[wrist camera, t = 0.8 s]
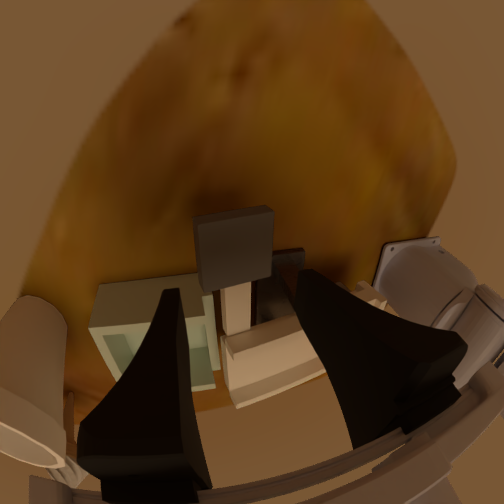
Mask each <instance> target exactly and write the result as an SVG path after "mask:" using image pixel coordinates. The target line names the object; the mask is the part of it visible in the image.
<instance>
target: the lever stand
mask: <svg viewBox="0 0 504 504" xmlns="http://www.w3.org/2000/svg"><path fill="white" fill-rule="evenodd" d="M304 259H305V250H304V249H303V248H297V249H289V250H281V251H273V252H272V264H271V276H270V277H266V278H262V279H258V280H256V291H255V325H259V324H262V323H265V322H268V321H271V320H274V319H277V318H280V317H283V316H286V315H289V314H292V313H295V310H294V300H295V293H296V285H297V278H298V271H301V270H303V267H304Z"/></svg>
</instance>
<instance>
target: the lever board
mask: <svg viewBox="0 0 504 504" xmlns="http://www.w3.org/2000/svg"><path fill="white" fill-rule="evenodd" d="M192 218H193V230H194V241H195V251H196V261H197V271H198V280H199V284H200V286H201V288H202V290H203V292H204V293H208V292H212V291H216V290H220V294H221V308H222V322H223V329H224V331H225V333H226V335H223V336H220V338H221V348H222V358H223V368H224V377H225V383H226V385H227V387H228V389H229V391H230V397H231V399H232V401H233V403H234V405H235V407H236V409H238V408H241V407H244V406H247V405H250V404H252V403H255V402H257V401H260V400H263V399H265V398H268V397H270V396H273V395H275V394H278V393H280V392H283V391H285V390H287V389H290V388H292V387H294V386H297V385H299V384H301V383H303V382H306V381H308V380H310V379H312V378H314V377H316V376H318V375H320V374H323V373H325V372H326V370H325V368H324V366H323V364H322V362H321V361H320V359H319V357H318V355H317V354H316V352H315V350H314V349H313V347H312V345H311V343H310V342H309V340H308V338H307V336H306V334H305V333H304V331H303V329H302V327H301V325H300V323H299V320H298V318H297V315H296V313H292V314H289V315H286V316H283V317H280V318H277V319H274V320H271V321H268V322H265V323H262V324H259V325H255V326H252V327H250V320H251V281H255V280H258V279H262V278H266V277H270V276H271V264H272V247H273V229H274V211H273V210H272V209H270V208H269V207H267V206H266V205H262V206H256V207H249V208H243V209H237V210H231V211H225V212H219V213H213V214H207V215H201V216H196V217H192ZM335 284H337V285H338V286H340V287H342V288H343V289H345V290H346V291H348V292H350V293H351V294H353V295H355V296H356V297H358V298H360V299H362V300H363V301H365V302H367V303H369V304H371V305H373V306H375V307H377V308H379V309H381V310H383V311H384V308H385V305H386V303H387V299H386V298H385V297H384V296H382V295H381V294H380V293H379V292H378V291H376V290H375V289H374V288H373V287H372V286H370V285H369V284H368V283H367V282H365V281H364V280H362V281H360V282H357V285H356V289H355V290H354V291H350V290H349V289H348V288H347V287H346V286H345V285H344V284H342V283H341V282H337V283H335Z"/></svg>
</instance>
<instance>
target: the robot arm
mask: <svg viewBox="0 0 504 504" xmlns="http://www.w3.org/2000/svg"><path fill="white" fill-rule="evenodd" d="M440 242H441V238H440V237H439V236H436V237H430V238H423V239H416V240H409V241H402V242H396V243H389V244H386V245H385V246H384V248H383V251H382V255H381V259H380V263H379V266H378V270H377V273H376V277H375V280H374V283H373V288H374V289H375V290H376V291H378V292H379V293H380V294H381V295H382V296H384V297H385V298H386V299H387V303H388V304H389V305H390V306H391V307H392V308H393V309H394V311H395V312H396V313H397V314H398V315H399V316H400V317H401V318H400V317H397V316H395V315H392V314H390V313H388V312H386V311H383V310H381V309H379V308H377V307H375V306H373V305H371V304H369V303H367V302H365V301H363V300H362V299H360V298H358V297H356V296H355V295H353V294H351V293H350V292H348V291H346V290H345V289H343V288H342V287H340V286H338V285H337V284H335V283H334V282H332V281H331V280H329V279H327V278H326V277H324V276H323V275H321V274H319V273H318V272H316V271H314V270H313V269H307V270H301V271H298V278H297V285H296V293H295V300H294V310H295V313H296V315H297V318H298V320H299V323H300V325H301V327H302V329H303V331H304V333H305V334H306V336H307V338H308V340H309V342H310V343H311V345H312V347H313V349H314V350H315V352H316V354H317V355H318V357H319V359H320V361H321V362H322V364H323V366H324V368H325V370H326V372H327V374H328V377H329V379H330V381H331V384H332V386H333V388H334V391H335V394H336V396H337V398H338V401H339V404H340V406H341V410H342V413H343V415H344V419H345V422H346V425H347V428H348V431H349V435H350V439H351V442H352V447H353V450H352V451H349V452H347V453H345V454H342V455H340V456H337V457H335V458H332V459H329V460H327V461H324V462H321V463H318V464H315V465H313V466H310V467H307V468H303V469H301V470H297V471H294V472H290V473H287V474H283V475H280V476H276V477H272V478H268V479H264V480H260V481H255V482H251V483H246V484H241V485H236V486H229V487H223V488H217V489H212V487H213V486H212V483H211V479H210V476H209V472H208V468H207V464H206V460H205V456H204V452H203V448H202V444H201V439H200V435H199V430H198V426H197V420H196V415H195V410H194V405H193V398H192V388H191V372H190V353H189V342H188V335H187V328H186V322H185V317H184V311H183V306H182V300H181V295H180V289H179V288H171V289H164V290H163V291H162V293H161V297H160V301H159V304H158V306H157V309H156V312H155V314H154V317H153V319H152V322H151V324H150V326H149V329H148V331H147V333H146V335H145V337H144V339H143V341H142V343H141V345H140V347H139V349H138V350H137V352H136V354H135V356H134V357H133V359H132V361H131V362H130V364H129V365H128V367H127V368H126V370H125V371H124V373H123V374H122V376H121V377H120V379H119V380H118V381H117V383H116V384H115V385H114V386H113V388H112V389H111V390H110V391H109V392H108V394H107V395H106V396H105V397H104V399H103V400H102V401H101V402H100V403H99V404H98V405H97V406H96V407H95V408H94V409H93V410H92V411H91V412H90V413H89V414H88V415H87V417H86V418H85V419H84V420H82V421H81V422H80V427H79V432H78V437H77V457H76V461H77V463H78V465H79V466H80V467H81V468H82V469H83V470H85V471H86V472H88V473H90V474H91V475H93V476H95V477H96V478H98V479H100V480H101V492H99V491H90V490H82V489H75V488H70V487H69V486H68V485H66V484H64V483H62V482H59V481H56V480H51V479H46V478H42V477H38V476H33V475H30V476H29V504H247V503H252V502H256V501H261V500H265V499H269V498H273V497H277V496H281V495H285V494H288V493H292V492H294V491H298V490H301V489H304V488H307V487H310V486H313V485H316V484H319V483H322V482H325V481H327V480H330V479H332V478H335V477H337V476H340V475H342V474H345V473H347V472H349V471H352V470H354V469H356V468H358V467H361V466H363V465H365V464H367V463H369V462H371V461H373V460H375V459H377V458H379V457H381V456H383V455H385V454H387V453H389V452H390V451H392V450H394V449H396V448H398V447H400V446H401V445H403V444H405V445H404V446H402V447H401V448H399V449H398V450H396V451H394V452H393V453H392V454H390V456H389V457H388V458H386V459H385V460H384V461H383V462H381V463H380V464H378V465H377V466H376V467H374V468H373V469H372V473H370V474H368V475H366V476H364V477H362V478H360V479H358V480H355V481H353V482H351V483H348V484H346V485H344V486H342V487H339V488H337V489H334V490H332V491H329V492H327V493H324V494H322V495H319V496H317V497H314V498H311V499H308V500H305V501H303V502H300V503H297V504H462V503H461V501H460V500H459V498H458V496H457V494H456V493H455V491H454V489H453V487H452V486H451V484H450V482H449V480H448V479H447V477H446V476H447V475H448V474H450V472H451V470H452V465H451V463H453V462H454V461H455V460H456V459H457V458H458V457H459V456H460V455H461V454H462V453H463V452H465V451H466V450H467V449H468V448H469V447H470V446H471V445H472V444H473V443H474V442H475V441H476V440H477V439H478V437H480V436H481V434H482V433H483V432H484V431H485V430H486V429H487V428H488V427H489V426H490V425H491V423H492V422H493V421H494V420H495V419H496V418H497V417H498V415H499V414H500V415H501V416H502V417H503V418H504V353H503V354H502V355H501V356H500V358H499V359H498V360H497V361H496V363H495V364H494V365H493V364H492V363H493V362H494V360H495V359H496V358H497V357H498V355H499V354H500V353H501V352H502V350H503V349H504V299H503V298H502V297H501V296H500V295H498V294H497V293H496V292H495V291H494V290H492V289H491V288H490V287H489V286H487V285H485V284H482V285H478V282H477V279H476V277H475V275H474V274H473V272H472V271H471V270H470V269H469V268H468V267H467V266H465V265H464V264H463V263H462V262H460V261H459V260H458V259H457V258H455V257H454V256H453V255H451V254H450V253H449V252H448V251H446V250H445V249H443V248H442V247H441V246H440Z"/></svg>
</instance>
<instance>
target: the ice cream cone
mask: <svg viewBox="0 0 504 504" xmlns="http://www.w3.org/2000/svg"><path fill="white" fill-rule="evenodd" d="M63 428H64V430H65V431H66V459H65V466H64V467H60V468H56V469H55V468H46V467H45V468H46V470H47V472H48V473H49V475H50V477H51V478H52V480H56V481H59V482H62V483H64V484H66V485H68V486H69V487H70V488H76V487H77V486H78V485H79V484H80V483H81V482H82V480H83V479H84V478H85V477H86V476H87V475H88V474H89V473H88V472H86V471H85V470H83V469H82V468H81V467H80V466H79V465H78V463H77V461H76V457H77V444H76V442H75V440H74V394H73V393H72V392H70V393H69V394H68V397H67V401H66V405H65V408H64V412H63Z"/></svg>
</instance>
